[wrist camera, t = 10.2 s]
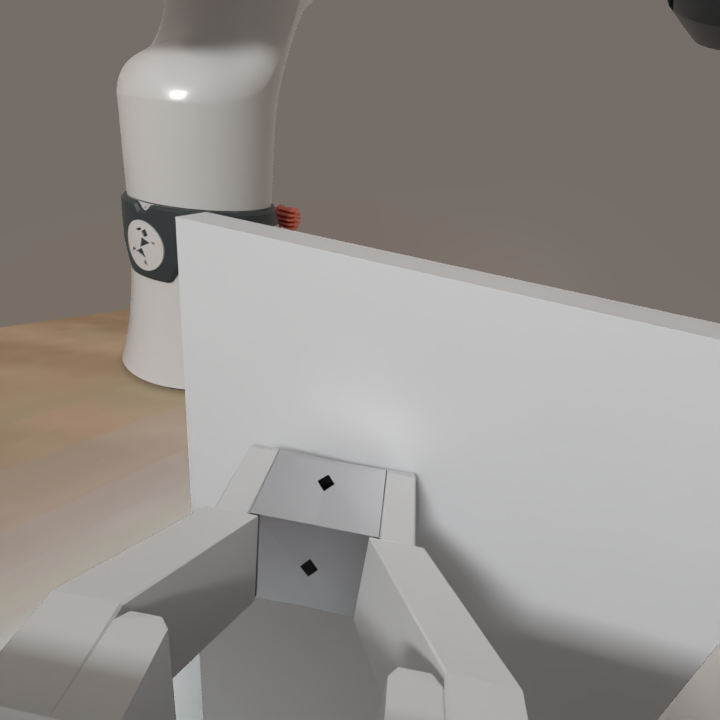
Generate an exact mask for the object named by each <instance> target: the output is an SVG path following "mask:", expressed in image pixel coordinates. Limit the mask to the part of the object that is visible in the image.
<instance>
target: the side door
mask: <svg viewBox="0 0 720 720" xmlns="http://www.w3.org/2000/svg"><path fill="white" fill-rule="evenodd" d="M175 219H176V237H177V255H178V273H179V291H180V309H181V327H182V345H183V363H184V381H185V398H186V416H187V434H188V452H189V470H190V488H191V506H192V513H193V512H195V511H197V510H199V509H201V508H203V507H204V506H212V507H215V506H216V504H217V503H218V501H219V499H220V497H221V496H222V494H223V492H224V490H225V489H226V487H227V485H228V483H229V482H230V480H231V478H232V476H233V475H234V473H235V471H236V470H237V468H238V466H239V464H240V463H241V461H242V459H243V457H244V456H245V454H246V452H247V450H248V449H249V448H250V447H251V446H252V445H254V444H258V445H263V446H268V447H273V448H278V449H280V450H281V449H284V450H289V451H294V452H299V453H303V454H308V455H313V456H318V457H322V458H327V459H332V460H336V461H341V462H347V463H352V464H358V465H363V466H369V467H374V468H380V469H386V470H387V469H390V470H396V471H403V472H409V473H414V474H415V476H416V515H415V546H417V547H421V548H424V549H425V550H426V552H427V553H428V554H429V556H430V557H431V559H432V560H433V562H434V563H435V565H436V566H437V567H438V569H439V570H440V572H441V573H442V575H443V576H444V578H445V579H446V580H447V582H448V583H449V585H450V586H451V588H452V589H453V591H454V592H455V593H456V595H457V596H458V598H459V599H460V601H461V602H462V604H463V605H464V606H465V608H466V609H467V611H468V612H469V614H470V615H471V617H472V618H473V619H474V621H475V622H476V624H477V625H478V627H479V628H480V630H481V631H482V632H483V634H484V635H485V637H486V638H487V640H488V641H489V643H490V644H491V645H492V647H493V648H494V650H495V651H496V653H497V654H498V656H499V657H500V658H501V660H502V661H503V663H504V664H505V666H506V667H507V669H508V670H509V671H510V673H511V674H512V676H513V677H514V679H515V680H516V682H517V683H518V685H519V686H520V687H521V689H522V690H523V695H524V700H525V706H526V711H527V717H528V720H657V719H658V718H659V716H660V715H661V714H662V713H663V712H664V710H665V709H666V708H667V707H668V705H669V704H670V703H671V702H672V701H673V699H674V698H675V697H676V696H677V694H678V693H679V692H680V691H681V689H682V688H683V687H684V686H685V685H686V683H687V682H688V681H689V680H690V678H691V677H692V676H693V675H694V673H695V672H696V671H697V670H698V669H699V667H700V666H701V665H702V664H703V662H704V661H705V660H706V659H707V657H708V656H709V655H710V654H711V653H712V651H713V650H714V649H715V648H716V646H717V645H718V644H719V643H720V324H719V323H714V322H710V321H705V320H700V319H696V318H691V317H687V316H682V315H677V314H673V313H668V312H664V311H659V310H654V309H650V308H645V307H641V306H636V305H632V304H627V303H622V302H618V301H613V300H608V299H604V298H600V297H594V296H590V295H585V294H581V293H577V292H572V291H567V290H563V289H558V288H553V287H549V286H544V285H540V284H535V283H530V282H525V281H521V280H517V279H512V278H508V277H503V276H498V275H493V274H489V273H484V272H480V271H475V270H471V269H466V268H462V267H457V266H452V265H448V264H443V263H439V262H434V261H429V260H425V259H420V258H415V257H411V256H406V255H402V254H397V253H393V252H388V251H383V250H379V249H374V248H370V247H365V246H361V245H356V244H351V243H347V242H342V241H338V240H333V239H329V238H324V237H319V236H314V235H310V234H306V233H301V232H296V231H292V230H287V229H283V228H278V227H273V226H269V225H264V224H260V223H255V222H250V221H246V220H241V219H237V218H232V217H227V216H223V215H218V214H214V213H209V212H202V213H196V214H189V215H183V216H177V217H175ZM353 619H354V617H349V616H345V615H341V614H337V613H332V612H328V611H324V610H320V609H315V608H311V607H307V606H302V605H296V604H291V603H285V602H279V601H274V600H268V599H262V598H256V597H255V601H254V602H253V603H252V604H251V605H250V606H249V607H247V608H246V609H245V610H244V611H243V612H242V613H241V614H240V615H239V616H238V617H237V618H236V619H235V620H234V621H233V622H232V623H231V624H229V625H228V626H227V627H226V628H225V629H224V630H223V631H222V632H221V633H220V634H219V635H218V636H217V637H216V638H215V639H214V640H213V641H211V642H210V643H209V644H208V645H207V646H206V647H205V648H204V649H203V650H202V651H201V652H200V667H201V685H202V703H203V720H376V717H377V713H378V710H379V706H380V702H381V699H382V696H381V693H380V691H379V688H378V685H377V683H376V680H375V677H374V675H373V672H372V669H371V667H370V664H369V661H368V659H367V656H366V653H365V650H364V648H363V645H362V642H361V640H360V637H359V634H358V632H357V629H356V626H355V624H354V621H353Z"/></svg>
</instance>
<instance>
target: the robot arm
mask: <svg viewBox="0 0 720 720" xmlns="http://www.w3.org/2000/svg"><path fill="white" fill-rule="evenodd" d="M312 1H313V0H165V4H164V11H163V16H162V20H161V24H160V27H159V30H158V33H157V35H156V37H155V39H154V41H153V43H152V44H151V46H150V47H149V48H147V49H145V50H143V51H141V52H139V53H138V54H136V55H135V56H133V57H132V58H131V59H129V61H128V62H126V64H125V65H124V67H123V68H122V70H121V72H120V75H119V79H118V83H117V99H118V110H119V120H120V130H121V141H122V151H123V161H124V171H125V180H126V190H127V191H125V192H124V193H123V194H122V195H121V200H122V216H123V225H124V226H123V227H124V236H125V241H126V246H127V250H128V254H129V258H130V261H131V265H132V283H131V285H132V286H131V304H130V317H129V325H128V332H127V338H126V343H125V347H124V351H123V355H122V358H123V363H124V365H125V366H126V368H127V369H128V370H129V371H130V372H131V373H133V374H134V375H136V376H137V377H139V378H141V379H143V380H146V381H148V382H151V383H154V384H157V385H161V386H165V387H170V388H177V389H185V381H184V363H183V345H182V327H181V309H180V291H179V273H178V255H177V237H176V219H175V217H177V216H183V215H189V214H196V213H202V212H209V213H214V214H218V215H223V216H227V217H232V218H237V219H241V220H246V221H250V222H255V223H260V224H264V225H269V226H273V227H278V228H280V227H285V228H287V229H289V230H296V229H297V228H298V226H296V225H298V224H299V223H300V222H298V221H297V220H300V219H301V218H300V217H297V216H300V213H297V212H298V211H299V210H298V209H297V208H291V207H290V208H288V207H285V206H283V205H279V206H277V207H276V208H275V207H274V205H273V204H272V203H271V193H272V171H273V152H274V135H275V118H276V110H277V102H278V94H279V89H280V84H281V80H282V76H283V71H284V67H285V64H286V60H287V56H288V53H289V49H290V46H291V43H292V40H293V36H294V33H295V30H296V27H297V25H298V22H299V19H300V17H301V15H302V13H303V11H304V9H305V8H306V7H307V6H308V5H309V4H310V3H311V2H312ZM668 4H669V6H670V8H671V9H672V11H673V12H674V13H675V15H676V16H677V18H678V19H679V21H680V22H681V23H682V25H683V26H684V28H685V29H686V30H687V32H688V33H689V34H690V36H691V37H692V38H693V40H694V41H695V42H697V43H698V44H700V45H702V46H705V47H708V48H712V49H717V50H720V0H668ZM415 515H416V476H415V474H414V473H409V472H403V471H396V470H390V469H387V470H386V469H380V468H374V467H369V466H363V465H358V464H352V463H347V462H341V461H336V460H332V459H327V458H322V457H318V456H313V455H308V454H303V453H299V452H294V451H289V450H284V449H281V450H280V449H278V448H273V447H268V446H263V445H258V444H254V445H252V446H251V447H250V448H249V449H248V450H247V452H246V454H245V456H244V457H243V459H242V461H241V463H240V464H239V466H238V468H237V470H236V471H235V473H234V475H233V476H232V478H231V480H230V482H229V483H228V485H227V487H226V489H225V490H224V492H223V494H222V496H221V497H220V499H219V501H218V503H217V504H216V506H215V507H212V506H204V507H203V508H201V509H199V510H197V511H195V512H193V513H192V514H190V515H188V516H186V517H184V518H183V519H181V520H179V521H177V522H175V523H173V524H172V525H170V526H168V527H166V528H164V529H163V530H161V531H159V532H157V533H155V534H153V535H152V536H150V537H148V538H146V539H144V540H143V541H141V542H139V543H137V544H135V545H133V546H132V547H130V548H128V549H126V550H124V551H122V552H121V553H119V554H117V555H115V556H113V557H112V558H110V559H108V560H106V561H104V562H102V563H101V564H99V565H97V566H95V567H93V568H92V569H90V570H88V571H86V572H84V573H82V574H81V575H79V576H77V577H75V578H73V579H71V580H70V581H68V582H66V583H64V584H62V585H61V586H59V587H57V588H55V589H53V590H52V591H51V592H50V593H49V594H48V595H47V597H46V598H45V599H44V600H43V601H42V603H41V604H40V605H39V606H38V607H37V609H36V610H35V611H34V612H33V613H32V615H31V616H30V617H29V618H28V619H27V621H26V622H25V623H24V624H23V625H22V627H21V628H20V629H19V630H18V631H17V632H16V634H15V635H14V636H13V637H12V638H11V640H10V641H9V642H8V643H7V644H6V646H5V647H4V648H3V649H2V650H1V652H0V720H176V714H175V703H174V692H173V681H172V678H173V677H174V676H175V675H177V674H178V673H179V672H180V671H181V670H182V669H183V668H184V667H185V666H186V665H187V664H188V663H189V662H190V661H191V660H192V659H193V658H195V657H196V656H197V655H198V654H199V653H200V652H201V651H202V650H203V649H204V648H205V647H206V646H207V645H208V644H209V643H210V642H211V641H213V640H214V639H215V638H216V637H217V636H218V635H219V634H220V633H221V632H222V631H223V630H224V629H225V628H226V627H227V626H228V625H229V624H231V623H232V622H233V621H234V620H235V619H236V618H237V617H238V616H239V615H240V614H241V613H242V612H243V611H244V610H245V609H246V608H247V607H249V606H250V605H251V604H252V603H253V602H254V601H255V597H256V598H262V599H268V600H274V601H279V602H285V603H291V604H296V605H302V606H307V607H311V608H315V609H320V610H324V611H328V612H332V613H337V614H341V615H345V616H349V617H354V619H353V621H354V624H355V626H356V629H357V632H358V634H359V637H360V640H361V642H362V645H363V648H364V650H365V653H366V656H367V659H368V661H369V664H370V667H371V669H372V672H373V675H374V677H375V680H376V683H377V685H378V688H379V691H380V693H381V696H382V699H381V702H380V706H379V710H378V713H377V717H376V720H528V717H527V711H526V706H525V700H524V695H523V690H522V689H521V687H520V686H519V685H518V683H517V682H516V680H515V679H514V677H513V676H512V674H511V673H510V671H509V670H508V669H507V667H506V666H505V664H504V663H503V661H502V660H501V658H500V657H499V656H498V654H497V653H496V651H495V650H494V648H493V647H492V645H491V644H490V643H489V641H488V640H487V638H486V637H485V635H484V634H483V632H482V631H481V630H480V628H479V627H478V625H477V624H476V622H475V621H474V619H473V618H472V617H471V615H470V614H469V612H468V611H467V609H466V608H465V606H464V605H463V604H462V602H461V601H460V599H459V598H458V596H457V595H456V593H455V592H454V591H453V589H452V588H451V586H450V585H449V583H448V582H447V580H446V579H445V578H444V576H443V575H442V573H441V572H440V570H439V569H438V567H437V566H436V565H435V563H434V562H433V560H432V559H431V557H430V556H429V554H428V553H427V552H426V550H425V549H424V548H421V547H417V546H415Z"/></svg>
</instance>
